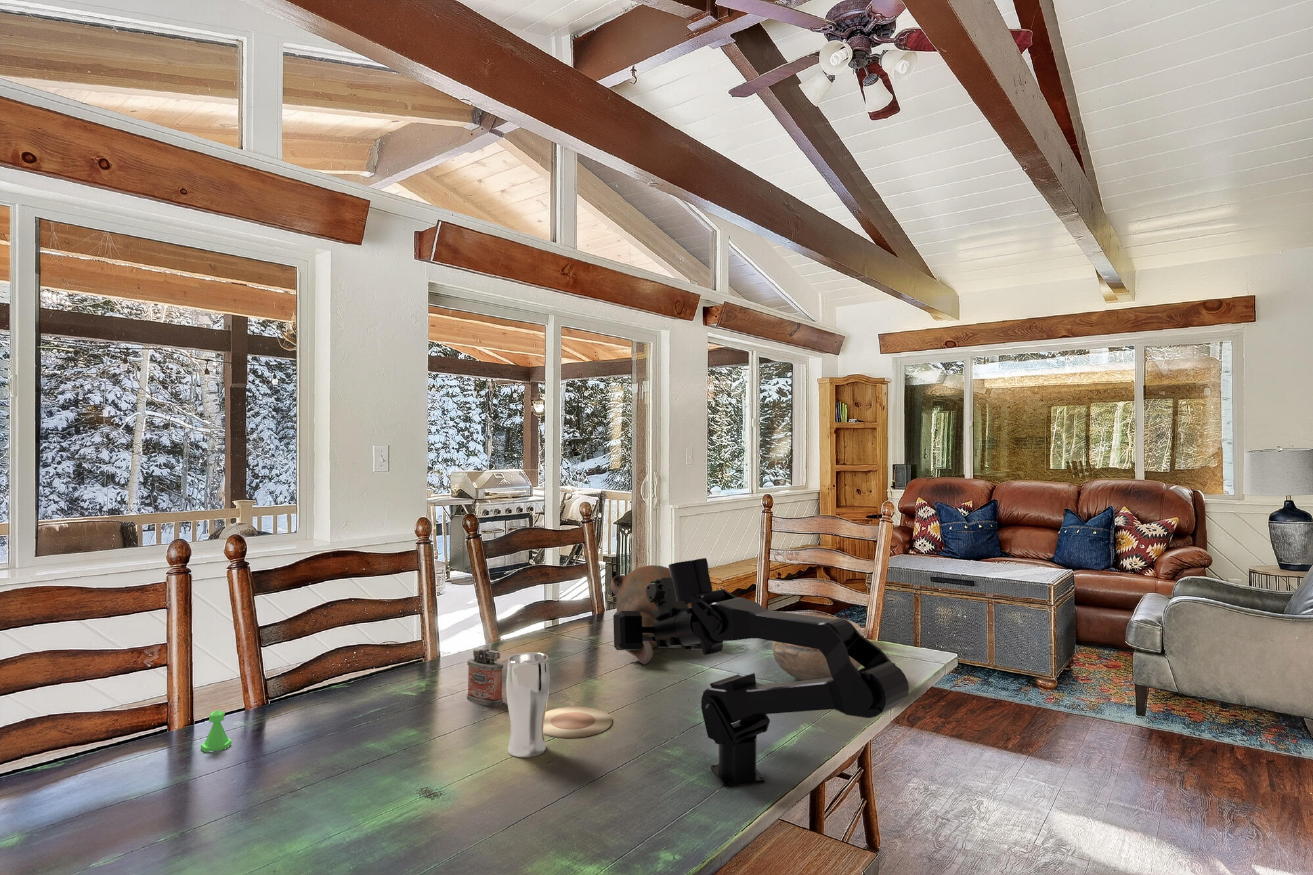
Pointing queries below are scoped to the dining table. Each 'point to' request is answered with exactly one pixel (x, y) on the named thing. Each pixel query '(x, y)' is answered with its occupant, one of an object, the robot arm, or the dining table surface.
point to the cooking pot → (805, 659)
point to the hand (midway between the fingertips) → (639, 635)
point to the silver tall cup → (527, 702)
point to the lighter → (485, 678)
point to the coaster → (575, 722)
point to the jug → (639, 601)
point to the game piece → (216, 734)
